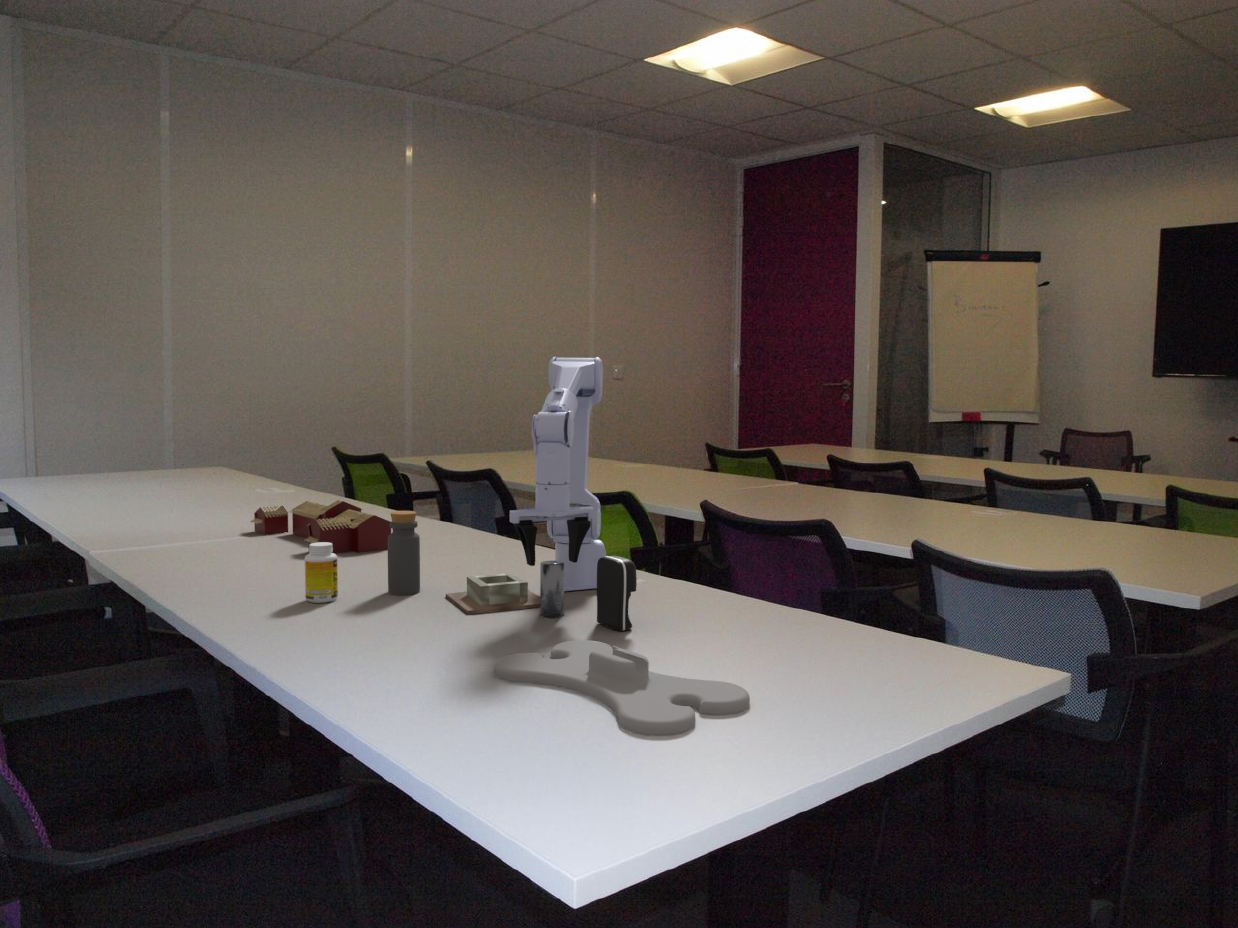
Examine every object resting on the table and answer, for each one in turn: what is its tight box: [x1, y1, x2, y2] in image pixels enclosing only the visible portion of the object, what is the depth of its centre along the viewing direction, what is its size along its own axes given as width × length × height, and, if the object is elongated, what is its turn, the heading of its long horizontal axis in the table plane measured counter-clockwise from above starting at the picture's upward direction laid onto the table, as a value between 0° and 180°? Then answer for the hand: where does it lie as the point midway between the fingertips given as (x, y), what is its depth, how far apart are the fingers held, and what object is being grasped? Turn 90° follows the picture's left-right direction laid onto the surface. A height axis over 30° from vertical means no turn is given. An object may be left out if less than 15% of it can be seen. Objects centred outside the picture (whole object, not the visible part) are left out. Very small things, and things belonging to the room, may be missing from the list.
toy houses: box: [249, 499, 392, 555], centre depth 232 cm, size 45×20×10 cm, turn 42°
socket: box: [445, 572, 540, 615], centre depth 170 cm, size 15×14×4 cm
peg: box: [539, 560, 565, 619], centre depth 160 cm, size 4×4×9 cm
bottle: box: [387, 510, 421, 596], centre depth 176 cm, size 6×6×15 cm
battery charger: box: [596, 555, 638, 632], centre depth 153 cm, size 7×4×11 cm, turn 36°
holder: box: [493, 639, 751, 737], centre depth 124 cm, size 19×34×5 cm, turn 43°
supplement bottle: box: [304, 542, 339, 604], centre depth 169 cm, size 6×6×10 cm
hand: (552, 563), depth 160 cm, fingers open, 7 cm apart
